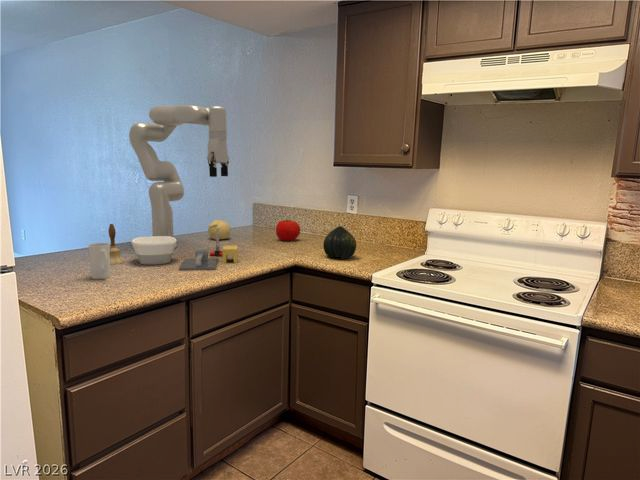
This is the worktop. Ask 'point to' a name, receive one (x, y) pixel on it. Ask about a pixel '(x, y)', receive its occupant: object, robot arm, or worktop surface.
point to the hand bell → (114, 248)
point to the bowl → (154, 249)
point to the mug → (99, 260)
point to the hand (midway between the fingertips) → (219, 176)
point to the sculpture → (223, 229)
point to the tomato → (287, 230)
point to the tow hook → (217, 246)
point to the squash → (339, 243)
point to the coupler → (200, 261)
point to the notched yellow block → (230, 253)
